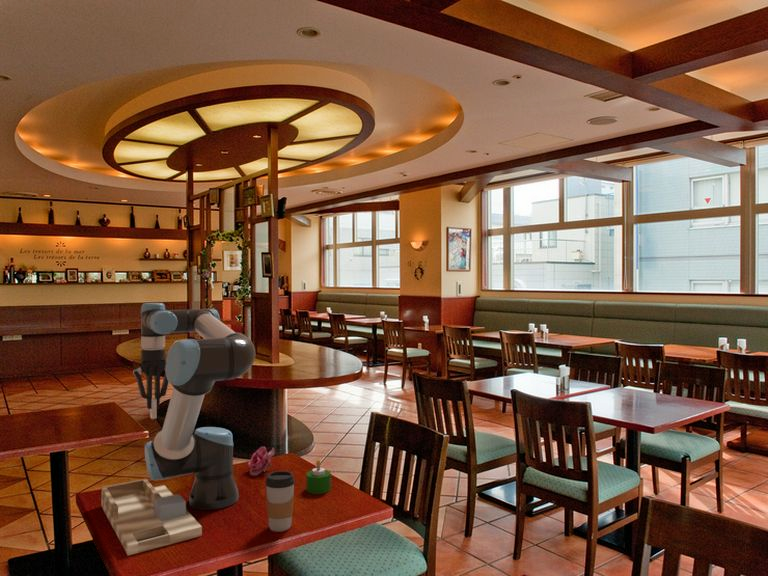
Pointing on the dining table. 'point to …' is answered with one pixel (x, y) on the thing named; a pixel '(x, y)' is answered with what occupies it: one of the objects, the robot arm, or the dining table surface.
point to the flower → (260, 460)
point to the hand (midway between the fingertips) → (153, 417)
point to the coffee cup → (280, 499)
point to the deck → (144, 517)
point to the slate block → (169, 507)
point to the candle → (318, 480)
